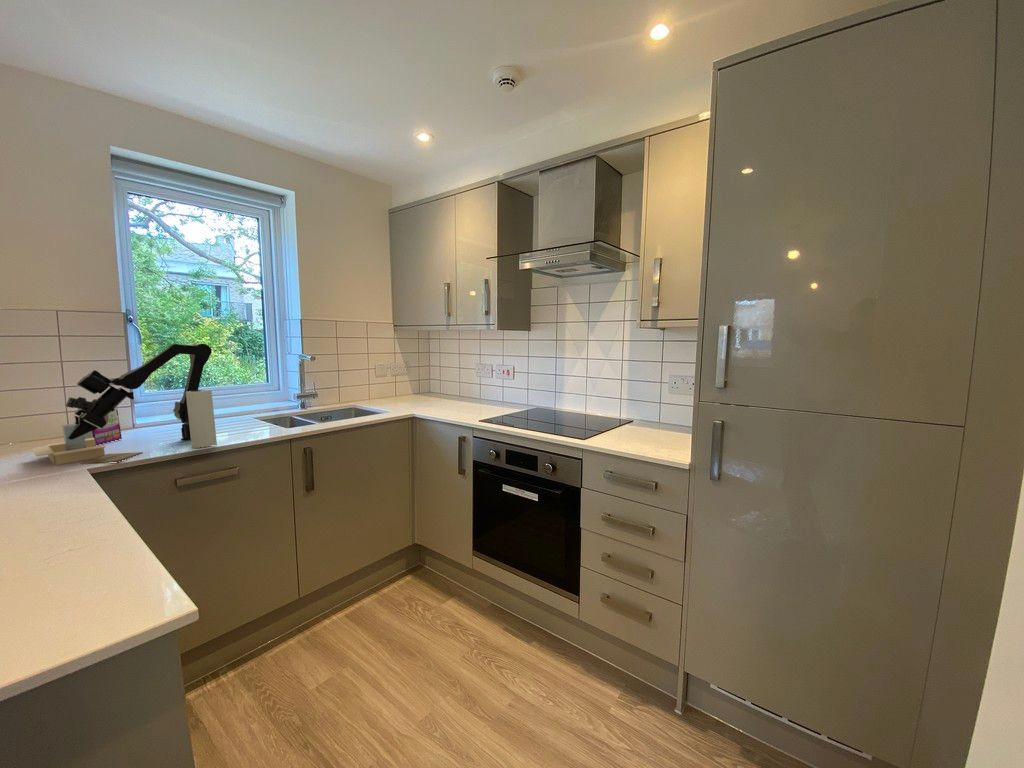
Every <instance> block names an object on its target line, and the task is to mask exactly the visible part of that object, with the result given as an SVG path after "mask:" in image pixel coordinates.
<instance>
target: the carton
mask: <svg viewBox="0 0 1024 768" xmlns="http://www.w3.org/2000/svg"><path fill="white" fill-rule="evenodd" d="M85 443H86V448H81V449H74V450H68V451H66V449H65V441H61V442H60V441H59V442H54V443H49V444H45V445H44V446H38V447H32V448H31V451H32V452H33V453H34V455H35V456H36V457H43V456H47V457H48V459H49V460H50V461H51V463H52V464H53V466H58V465H64V464H70V463H75V462H81V461H82V462H83V461H88V460H91V459H93V458H97V457H100V456H104V455H106V454H105V448H106V445H105V444H101V445H97V446H96V443H95V439H94V438H88V439H85Z"/></svg>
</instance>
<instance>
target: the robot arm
mask: <svg viewBox="0 0 1024 768" xmlns="http://www.w3.org/2000/svg"><path fill="white" fill-rule="evenodd" d="M181 354H182V355H189V363H190V365H189V368H188V369H189V370H188V375H187V378H186V381H185V386H184V390H183V396H182V398H181V399H180V401H175V402H174V408H173V409H172V413H174V417H175V418H176V419H178V420H180V421H181V423H182V424H181V429H180V431H181V437H182V438H180V441H186V440H187V439H191V436H190V427H189V418H188V408H187V399H186V392H187V391H193V390H199V387H200V383H201V378H202V375H203V370H204V367H205V365H206V364H207V363H208V361H209V358H210V357H211V355H212V348H211V347H210V345H208V344H206V343H195V344H192V345H191V344H190V345H187V344H179V343H171V344H169V345H168V346H167V347H166V348H164V349H163V350H161V352H158V354H156V355H155V356H154V357H152V358H150V359H149V360H148V361H146V362H145V363H144V364H142V365H141V366H139V367H136V368H134V369H131V370H129V371H128V372H125V373H123V374H122V375H120V376H119V377H116V378H108V377H106V376H105V375H103V374H101V373H100V372H99V371H98V370H92V371H91V372H89V373H87V374H86V375H85V376H83V377H82V378H80V380H78V382H76V385H77V386H78V387H81V388H82V389H84V390H86V391H88V392H90V393H91V394H93V395H96V394H97V393H98V394H101V395H100V396H99V397H98V398H97V399H92V400H91V401H89V400H87V397H83V396H79V397H77V398H76V397H71V396H69V397H68V400H67V402H66V404H65V407H67V408H70V409H71V408H74V409H77V410H76V411H75V412H74V413H73V414H74V423H73V424H77V423H79V425H78V426H77V427H76V428H75V430H74V431H73V432H72V433H71V435H70V436H69V437H68V439H70V440H73V439H75V438H77V437H79V436H82V435H84V434H86V433H88V432H91V431H93V430H95V429H98V427H100V428H103V427H104V426H105V425H106V424H107V423H106V420H105V417H106V416H107V415H108V414H109V413H110V412H111V411H112V412H113V411H114V410H115V409H114V408H115V407H116V406H117V407H118V406H119V405H120V404H121V403H122V402H123V401H124V400H125V399H127V398H128V399H130V400H134V399H135V397H134V392H133V391H127V390H125V389H128V390H136V389H138V388H140V387H141V386H142V385H143V384H144V383H145V382H146V381H147V380H148V378H149V377H150V376H151V374H153V373H155V371H157V370H158V369H160V368H161V367H162V366H164V365H165V364H166V363H168V362H169V361H171V360H172V359H173V358H175V357H176V356H177V355H181ZM113 385H114V386H117V387H118V386H119V388H117V387H114V386H113ZM78 408H79V409H78ZM96 426H98V427H96ZM187 441H188V440H187Z"/></svg>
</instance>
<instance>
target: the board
mask: <svg viewBox="0 0 1024 768" xmlns="http://www.w3.org/2000/svg"><path fill="white" fill-rule="evenodd" d="M139 454H140V455H142V454H143V451H139V452H138V451H137V452H136V451H135V452H119V453H117V452H116V453H115V452H114V453H106V454H105V455H104V456H100V457H97V458H94V459H88V460H84V461H82V462H80V465H94V464H95V465H96V464H105V463H106V462H119V461H122V460H125V459H126V460H127V459H128V458H129V459H131V458H134V457H137V456H139ZM136 455H137V456H136ZM133 456H134V457H133ZM130 457H131V458H130Z"/></svg>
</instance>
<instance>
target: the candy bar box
mask: <svg viewBox="0 0 1024 768" xmlns="http://www.w3.org/2000/svg"><path fill="white" fill-rule="evenodd" d="M78 409H79V408H77V410H78ZM114 409H115V410H114V411H113V412H112V411H111V412H110V413H109V414H108V415H107V416H106V417H105V420H106V423H107V424H106V425H105V426H104V427H103V428H100V427H98V426H96V427H98V429H95V430H93V431H91V432H88V433H86V434H84V436H85V439H88V438H94V439H95V443H96V445H97V446H100V445H99V444H101V445H104V444H103V443H105V444H108V443H107V442H109V443H112V442H111V441H115V440H119V439H122V440H123V438H122V431H121V424H120V419H119V411H118V410H119V409H118V406H116V407H115V408H114ZM119 441H120V440H119ZM115 442H116V441H115Z"/></svg>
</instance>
